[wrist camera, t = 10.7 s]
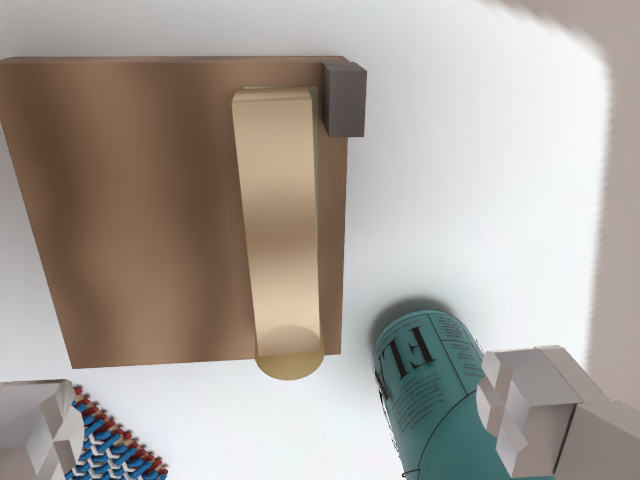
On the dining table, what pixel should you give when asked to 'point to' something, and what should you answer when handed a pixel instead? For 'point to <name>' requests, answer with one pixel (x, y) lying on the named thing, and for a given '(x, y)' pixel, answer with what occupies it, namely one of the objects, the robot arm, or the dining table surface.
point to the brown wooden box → (164, 196)
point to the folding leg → (280, 226)
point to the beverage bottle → (436, 399)
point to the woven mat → (110, 450)
